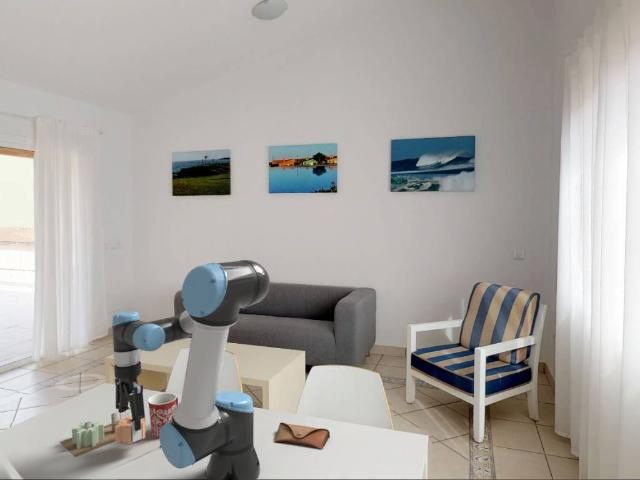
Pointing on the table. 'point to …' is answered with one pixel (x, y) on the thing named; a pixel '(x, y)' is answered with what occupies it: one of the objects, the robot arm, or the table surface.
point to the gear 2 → (127, 430)
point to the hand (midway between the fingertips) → (130, 436)
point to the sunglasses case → (302, 435)
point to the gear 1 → (87, 434)
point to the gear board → (108, 438)
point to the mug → (161, 411)
